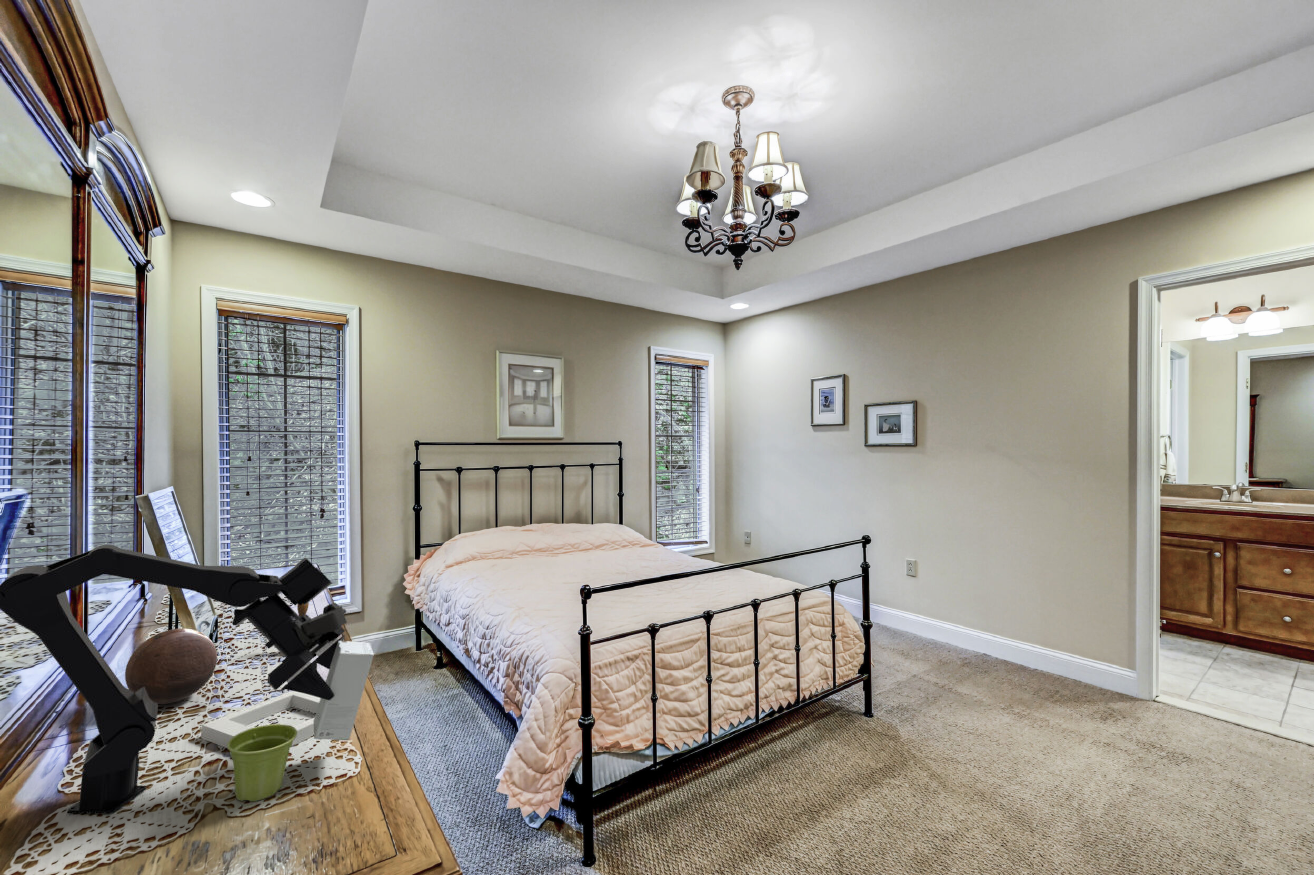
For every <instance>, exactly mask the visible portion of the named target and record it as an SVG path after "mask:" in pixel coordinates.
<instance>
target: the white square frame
mask: <svg viewBox="0 0 1314 875" xmlns="http://www.w3.org/2000/svg"><path fill="white" fill-rule="evenodd" d="M320 699H321V698H319V697H315V696H312V695H308V694H304V693H300V692H296V691H291V690H289V692H286V693H285V692H284V693H283V694H281V695H278V696H275V697H272V698H269V699H267V700H263V701H262V702H259V703H256V704H253V705H251V706H249V707H245V708H244V709H243V708H242V709H240V710H238V711H235V712H233V713H230V714H227V715H223V716H222V717H220V718H219V717H218V718H216V719H214V720H211V721H209V722H208V721H207V722H206V723H203V724H202V725H201V734H200V739H203V740H205V741H207V742H210V743H213V744H214V745H218V746H220V747H223V748H226V749H228V747H227V745H228V742H229V740H230V739H231V738H232V737H234V736H235V735H237V734H239V733H241V732H243V731H245V730H248V729H251V728H252V727H250V726H248V725H250V724H252V723H255V722H259V721H260V720H263V719H265V718H267V717H270V716H272V715H274V714H277V713H280V712H282V711H285V710H288V709H289V708H295V709H299V710H302V711H304V712H305V711H306V712H308V711H310V712H309V713H311V712H313V713H312V714H314V713H316V712H317V708H318V705H319V702H320ZM314 718H315V717H313V718H310V719H308V720H305V721H304V722H303V721H302V722H301V723H299V724H296V725H294V726H293V727H294V728H295V729H296V730H297V736H296V738H295V739H294V740H293V743H292V746H291V747H293V746H295V745H297V744H299V743H301V742H304V741H306V740H308V739H310V738H312V737H311V736H313V735H314ZM313 737H314V736H313Z"/></svg>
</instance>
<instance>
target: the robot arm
mask: <svg viewBox="0 0 1314 875" xmlns="http://www.w3.org/2000/svg"><path fill="white" fill-rule="evenodd" d="M104 575H108V576H113V577H119V578H124V579H129V580H136V581H139V582H146V583H151V584H156V585H162V586H167V587H173V588H177V589H183V590H189V591H193V592H195V593H198V594H201V595H202V596H205V597H207V598H209V599H211V600H214V601H216V602H219V603H222V604H225V605H227V606H230V607H234V608H235V609H233V612H234V614H233V620H232V623H231V624H232V626H240V625H242V624H243V623H244V622H245V621H247V620H248V622H250V624H252V626H253V627H255V629H256V630H257V631H259V632H260V634H262V636H263V637H265V639H266V640H267V642H266V643H264V646H265V647H266V648H267V649H268V650H269V649H271V648H272V647H274V648H275V649H276V650H277V651H278V652H279V653H280V655H281V654H282V655H283V656H282V655H281V656H282V657H284V658H283V660H281V663H280V664H279V665H277V666H276V667H275V668H274V669H273V670H272V671H271V672H269V673H268V674H267V684H268V685H269V686H270V687H271V688H272V689H273V690H274V691H277V690H278V689H279V688H280V687H281V686H282V685H284V686H283V687H282V688H281V691H283V692H284V691H285V690H288V691H296V692H300V693H304V694H308V695H312V696H315V697H319V698H322V699H326V700H331V699H332V698H333V697H334V693H333V692H332V690H331V689H330V687H329V686H328V685H327V683H326V680H324V678H323V677H322V675H321V674H320V673H319V671H318V665H319V666H322V667H324V668H325V669H328V670H329V669H330V666H331V663H332V659H333V656H334V653H335V650H336V646H337V643H338V641H344V639H345V637H346V636H345V634H344V633H345V632H346V630H345V629H344V627H343V625H345V624H347V623H348V622H347V619H346V617H345V614H346V613H347V610H346V608H343V607H342V605H338V603H336V602H332V603H330V604H327V605H326V606H324V607H323V609H322V610H323V612H322V613H320V614H318V615H317V616H314V617H312V618H311V617H310V616H309V614H306V615H304V614H303V615H301V616H299V614H298V612H297V613H296V611H295V610H294V609H293V608H292V607H291V606H290V605H289V604H288V603H287V602H286V601H285V600H284V599H283V598H282V597H281V596H280V594H282V595H284V597H285V598H286V599H287V600H288V601H289V602H291V603H292V605H293V606H297V605H298V604H299V605H301V604H304V605H306V604H307V603H308V602H309V603H310V602H311V601H313V599H315V598H316V597H318V595H320V594H321V593H322V592H323V591H324V590H326V589H327V588H328V587H329V586H331V585H332V584H333V583H332V581H331V580H330V579H329V578H328V577H327V576H326V575H325V574H324V573H323V572H322V571H321V569H320V568H319V567H317V566H316V567H315V565H314V564H312V562H311V561H310V560H309V559H308V558H307V557H303V558H302V559H300V561H298V562H297V563H296V565H295V566H293V567H292V568H291V569H290V570H288V571H286V572H285V573H284V574H283V575H282V576H280V577H279V576H277V575H273V574H272V575H271V574H263V573H262V574H261V573H257V571H255V570H254V569H253V568H252V567H251V568H250V567H248V566H247V567H246V566H237V565H236V566H235V565H234V566H233V565H202V564H201V565H200V564H197V563H192V562H187V561H186V562H185V561H182V560H177V559H172V558H168V557H163V556H157V555H153V554H149V553H145V552H139V551H135V550H130V549H126V548H121V547H118V546H116V545H114V544H101V545H98V546H95V547H94V548H93V549H91V550H88V551H85V552H81V553H80V554H77V555H74V556H71V557H67V558H64V559H61V560H59V561H56V562H54V563H50V564H48V565H45V566H44V565H29V566H25V567H21V568H19V569H18V570H16V571H14V572H13V573H12V574H10V575H9V576H8V577H6V579H4V580H3V582H1V584H0V610H1V611H2V612H3V613H4V614H5V615H7V617H9V618H10V619H11V620H12V621H14V622H15V623H16V624H18V625H19V626H21V627H23V628H25V629H27V630H28V631H30V632H32V633H33V634H35V635H36V636H37V637H38V638H39V640H40V641H41V642H42V643H43V645H44V647H45V648H46V649H47V651H48V652H49V653H50V655H51V656H52V657H53V659H54V660H55V661H56V662H57V664H58V665H59V666H60V668H61V669H62V670H63V672H64V673H65V675H66V676H67V677H68V679H69V680H70V682H71V683H72V684H73V685H74V687H75V688H76V689H77V691H78V692H79V693H80V695H81V696H82V697H83V698H84V700H85V701H86V703H87V704H88V705H89V707H90V708H91V710H92V713H93V716H94V720H95V723H96V727H97V731H98V734H96V736H94V737H93V738H92V739H91V740H90V741H89V744H88V747H87V750H86V754H85V756H84V762H83V764H82V769H83V770H82V771H81V781H80V782H81V783H80V793H79V794H80V795H79V801H78V802H76V803H75V804H74V805H71V807H69V808H68V809H67V813H68V814H102V815H103V814H105V815H109V814H113V813H114V812H116V811H118V810H119V809H121V808H122V807H123V806H125V805H126V804H128V803H129V802H130V801H132V800H133V799H135V798H136V797H138V796H139V795H140V794H142V793H143V792H145V791H146V790H147V786H146V785H138V778H139V766H140V759H139V754H140V752H141V751H142V750H143V749H145V748H147V747H148V745H149V744H150V743H151V742H152V740H153V738H154V736H155V734H156V732H155V731H156V721H157V720H158V705H159V704H157V703H155V702H153V701H152V700H151V699H150V698H149V696H148V694H147V691H146V689H145V687H142V688H141V689H140V690H138V691H137V692H135V693H134V692H132V691H130V690H129V689H128V687H126V686H124V685H123V683H122V682H121V681H120V679H119V678H118V676H116V674H115V673H114V671H113V670H112V668H111V666H110V665H109V664H108V663H107V661H106V659H105V658H104V657H103V656H102V654H101V653H100V652H99V650H98V648H97V647H96V646H95V645H94V643H93V642H92V640H91V639H90V638H89V636H88V634H87V633H86V632H85V631H84V629H83V628H82V627H81V625H80V624H79V622H78V621H77V620H76V618H75V616H74V615H73V613H72V610H71V606H70V601H69V598H68V593H67V592H68V591H69V590H71V589H74V588H76V587H78V586H80V585H82V584H84V583H86V582H89V581H91V580H93V579H95V578H98V577H100V576H104ZM241 608H242V609H241ZM342 634H343V635H342ZM341 635H342V636H341ZM339 637H340V638H339ZM315 657H316V658H315ZM314 658H315V659H314ZM313 659H314V660H313ZM312 660H313V661H312ZM311 661H312V662H311ZM285 683H286V684H285Z"/></svg>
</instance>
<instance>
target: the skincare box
mask: <svg viewBox="0 0 1314 875" xmlns="http://www.w3.org/2000/svg"><path fill="white" fill-rule="evenodd" d="M374 656H375V653H374V651H373V647H372V645H371V643H370V642H361V641H348V640H343V641H338V643H337V646H336V650H335V653H334V656H333V659H332V663H331V666H330V669H328V672H327V676H326V679H325V682H326V683H327V685H328V686H329V687H330V689H331V690H332V692H333V693H334V697H333V698H332V699H331V700H326V699H322V698H321V699H320V702H319V705H318V708H317V712H316V714H314V717H313V718H314V736H313V739H314V740H330V741H331V740H332V741H350V739H351V735H352V732H353V728H354V725H355V721H356V717H357V714H358V710H359V707H360V704H361V700H362V697H363V693H364V690H365V687H366V683H367V679H368V675H369V672H370V670H371V666H372V662H373V659H374Z"/></svg>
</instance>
